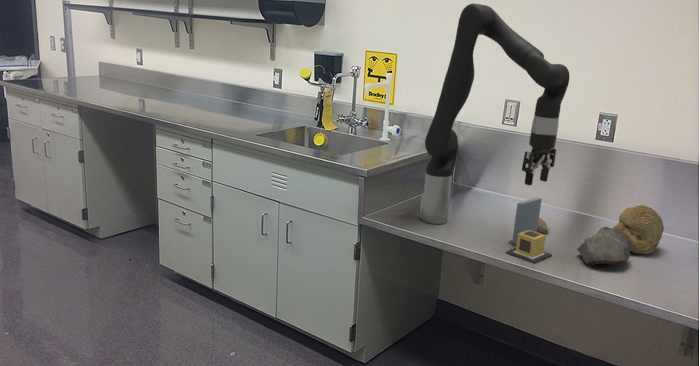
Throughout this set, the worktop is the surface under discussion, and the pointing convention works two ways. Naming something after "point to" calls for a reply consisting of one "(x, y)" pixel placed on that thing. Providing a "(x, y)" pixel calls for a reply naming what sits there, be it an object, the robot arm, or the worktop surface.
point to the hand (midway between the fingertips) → (535, 182)
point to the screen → (526, 217)
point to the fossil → (641, 228)
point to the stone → (605, 247)
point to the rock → (542, 227)
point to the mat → (527, 258)
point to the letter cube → (530, 243)
